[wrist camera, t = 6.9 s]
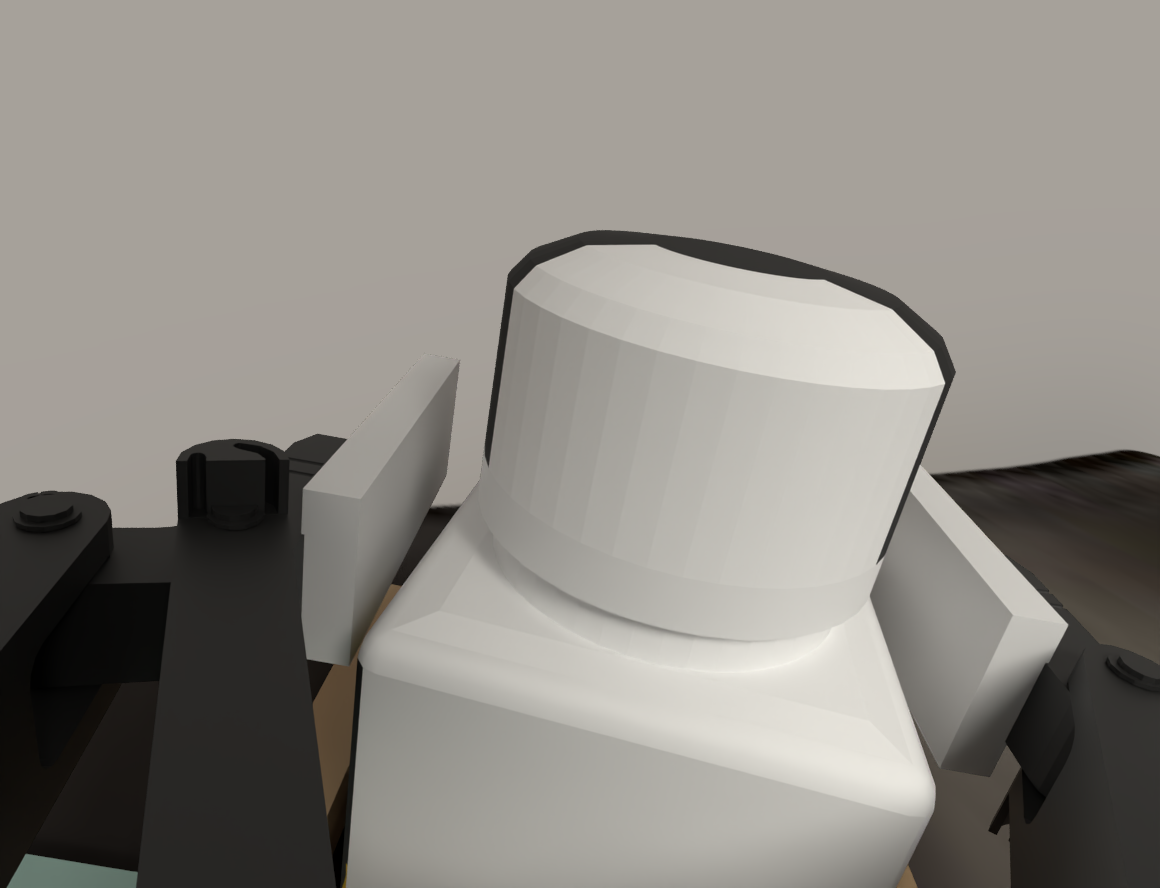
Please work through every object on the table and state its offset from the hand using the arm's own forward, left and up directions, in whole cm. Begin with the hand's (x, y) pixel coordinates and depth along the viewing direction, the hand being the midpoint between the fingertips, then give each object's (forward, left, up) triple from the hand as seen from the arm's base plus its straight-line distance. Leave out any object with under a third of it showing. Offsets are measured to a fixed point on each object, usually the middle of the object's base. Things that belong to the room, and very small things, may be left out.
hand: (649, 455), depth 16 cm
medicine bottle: (0, +5, -7) cm, 9 cm away
